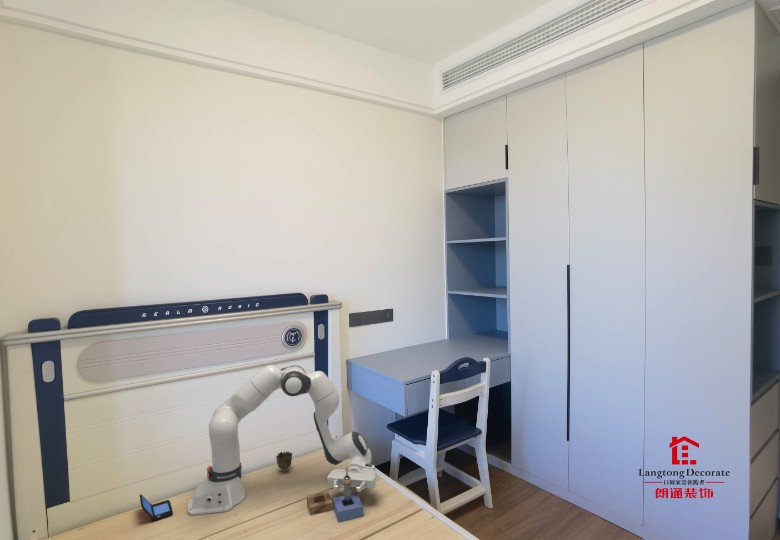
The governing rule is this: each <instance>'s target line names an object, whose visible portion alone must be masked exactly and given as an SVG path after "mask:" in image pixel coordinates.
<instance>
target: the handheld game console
mask: <svg viewBox="0 0 780 540" xmlns="http://www.w3.org/2000/svg"><path fill="white" fill-rule="evenodd" d="M139 501H140V505H141V510H143V511H144V512H145V514H146V515H147V516H148V517H149V518H150V519H151V522H152V523H154V522H157V521H160V520H163V519H166V518H169V517H171V516H173V515H174V514H173V513H174V512H173V508H172V505H171V502H170V501H171V500H169V499H166V500H162V501H160V502H156V503H153V504H152V503H150V502H149V501H148V500H147V498H146V497H144V495H142V494H141V493H140V494H139Z"/></svg>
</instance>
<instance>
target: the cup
mask: <svg viewBox="0 0 780 540" xmlns="http://www.w3.org/2000/svg"><path fill="white" fill-rule="evenodd" d="M275 456H276V463H277V464H276V465H277V466H278V469H280V472H281V473H287V472H289V469H290V467H291V466H292V460H293V452H291V451H288V450H287V451H280V452H278V453H277V455H275Z"/></svg>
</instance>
